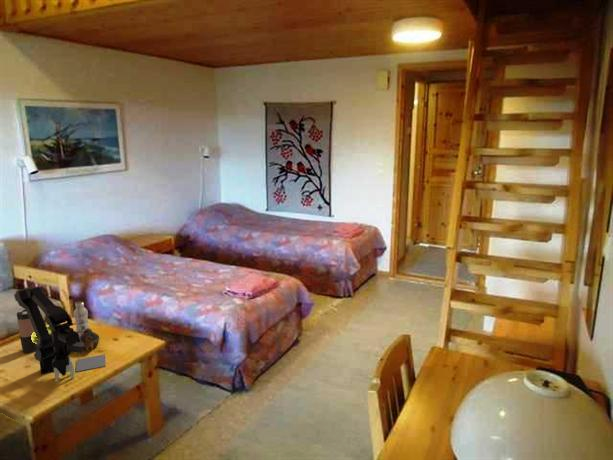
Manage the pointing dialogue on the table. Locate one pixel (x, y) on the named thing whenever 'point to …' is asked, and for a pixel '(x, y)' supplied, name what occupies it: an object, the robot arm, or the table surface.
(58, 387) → the table surface
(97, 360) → the mat
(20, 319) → the travel mug
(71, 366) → the notched white block
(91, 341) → the painted clay ocarina
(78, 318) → the plastic bottle
